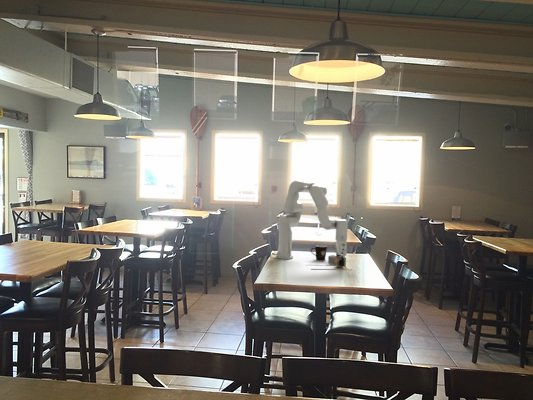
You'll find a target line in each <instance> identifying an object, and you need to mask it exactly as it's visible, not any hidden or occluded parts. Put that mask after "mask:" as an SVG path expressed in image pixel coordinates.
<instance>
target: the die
mask: <svg viewBox="0 0 533 400" xmlns="http://www.w3.org/2000/svg"><path fill="white" fill-rule="evenodd" d="M341 257H342V256H341ZM339 260H340V256H334V265H335V267H336V268H346V267H347V258H346V257H345V260H344V266H339Z"/></svg>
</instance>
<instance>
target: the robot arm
mask: <svg viewBox="0 0 533 400" xmlns="http://www.w3.org/2000/svg"><path fill="white" fill-rule="evenodd" d="M300 193H309V195H310V197H311V199H312V201H313V203H314V205H315V206H316V209H317V210H316V211H317V212H316V213H317V214H316V215H317V219H318V221H319V223H320V226H321V227H322V228H323V229H325V230H326V231H328V230H335V251H334V252H335V255H336V256H340V260H339V266H344V260H345V258H346V256H347V255H348V251H347V250H348V249H347V248H348V247H347V243H348V242H347V241H348V225H349V222H348V220H347V219H341V218H336V217H329V215H328V213H327V206H329V202H328V199H327V197H326V195H327V193H328V190H327V187H326V186H325V185H323V184H321V183H317V182H315V181H312V180H303V179H302V180H301V179H297V180H293V181H292V182H291V183H290V184H289V187H288V191H287V195H286V198H285V201H284V205H283V211H284V212H285V213H286V214H283V215H280V216H279V218H278V222H277V223H278V247H277V248H278V249H277V251H275V252H274V251H271V255H272V256H273V255H274V256H275V258H277V259H280V260H291V259H293V258H294V256H293V255H292V246H293V245H292V244H293V243H292V241H293V231H292V228H294V227H297V226H298V225H299V223H300V220H301V216H302V214H303V209H304V208H303V207H304V206H303V203H302V202H301V201H300V200H299V199H300ZM341 256H342V257H341Z"/></svg>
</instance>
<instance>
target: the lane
mask: <svg viewBox="0 0 533 400" xmlns="http://www.w3.org/2000/svg"><path fill="white" fill-rule="evenodd" d="M327 266H332V267H333V266H335V265H333V264H327ZM335 267H336V266H335ZM310 270H313V271H315V270H317V271H318V270H319V271H321V270H322V271H323V270H325V271H326V270H327V271H340V270H341V271H352V269H351V268H350V267H348V266H346V267H345V268H310Z"/></svg>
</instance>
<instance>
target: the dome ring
mask: <svg viewBox="0 0 533 400" xmlns="http://www.w3.org/2000/svg"><path fill="white" fill-rule="evenodd" d="M333 255H334V254H330V255H328V260H327V264H328V265H334V257H332V256H333Z"/></svg>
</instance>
